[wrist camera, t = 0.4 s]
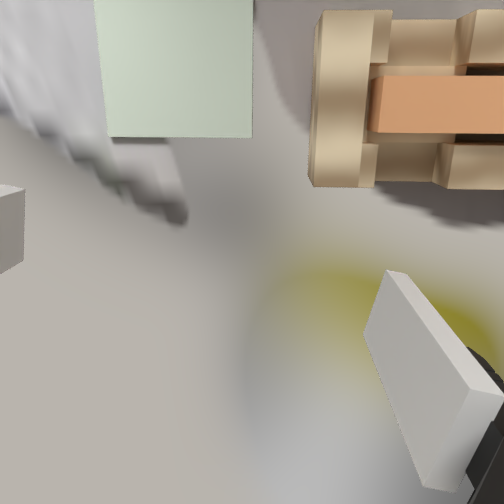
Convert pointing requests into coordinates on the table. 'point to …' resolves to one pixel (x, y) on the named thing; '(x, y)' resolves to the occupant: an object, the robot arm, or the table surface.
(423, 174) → the frame
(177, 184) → the table surface
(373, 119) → the bar
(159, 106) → the mat
